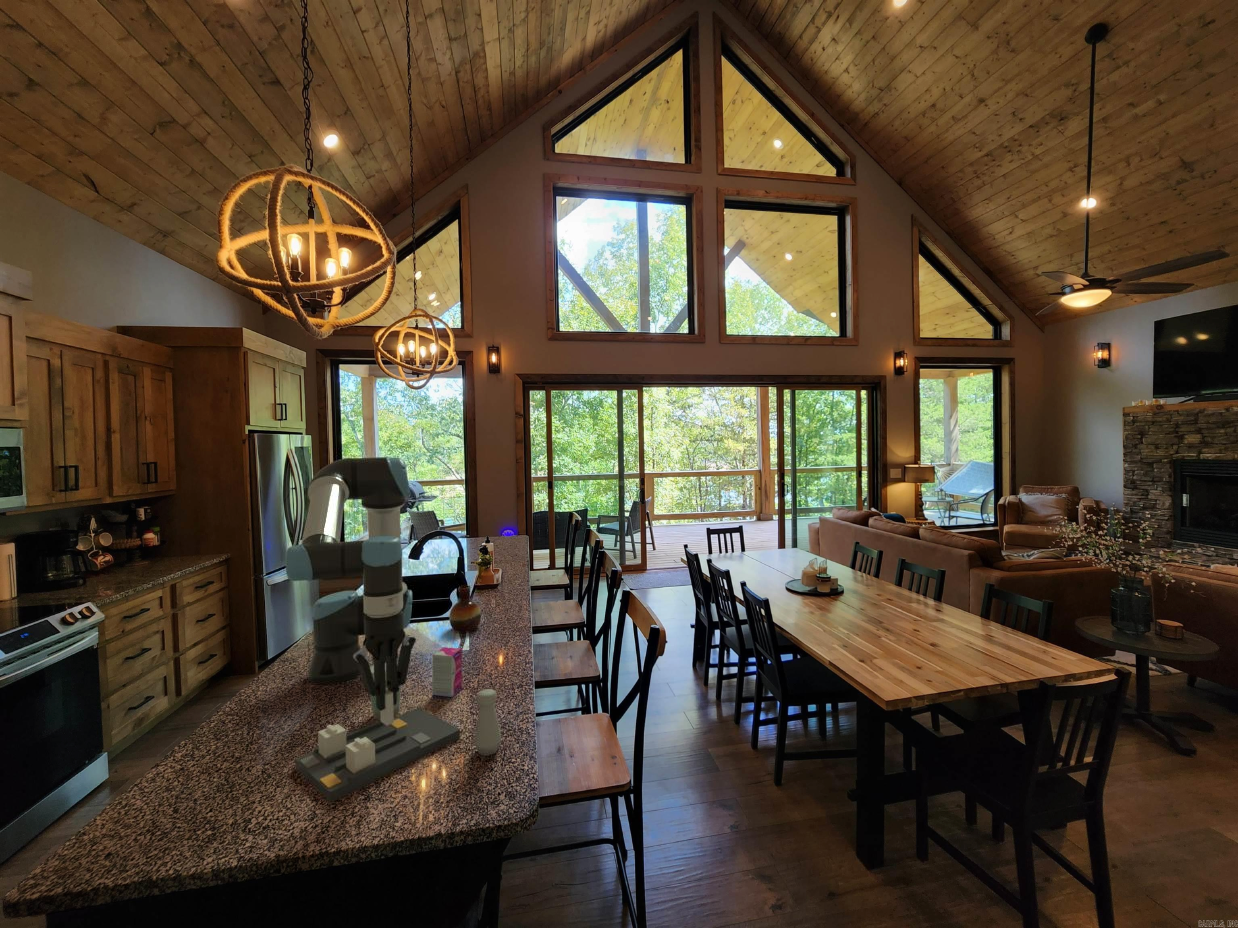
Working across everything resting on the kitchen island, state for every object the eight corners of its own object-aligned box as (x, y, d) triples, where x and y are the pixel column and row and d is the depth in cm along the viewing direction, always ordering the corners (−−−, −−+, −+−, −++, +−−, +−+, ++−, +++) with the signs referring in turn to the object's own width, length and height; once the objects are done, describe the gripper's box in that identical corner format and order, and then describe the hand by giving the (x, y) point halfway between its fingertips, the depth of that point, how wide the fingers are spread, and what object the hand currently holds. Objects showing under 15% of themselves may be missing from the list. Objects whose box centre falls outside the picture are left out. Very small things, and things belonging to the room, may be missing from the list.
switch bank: (295, 768, 111) (295, 755, 111) (420, 714, 132) (419, 703, 132) (330, 802, 100) (330, 787, 100) (460, 738, 122) (459, 725, 121)
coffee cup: (368, 726, 127) (366, 676, 127) (366, 710, 135) (365, 664, 134) (406, 717, 131) (405, 669, 131) (403, 702, 139) (401, 657, 138)
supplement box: (452, 698, 141) (451, 656, 140) (432, 697, 142) (430, 654, 141) (463, 689, 146) (462, 647, 146) (443, 687, 147) (442, 646, 147)
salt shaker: (476, 743, 119) (475, 686, 119) (503, 741, 120) (501, 684, 119) (472, 758, 113) (470, 698, 113) (499, 757, 114) (498, 697, 113)
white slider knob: (318, 752, 113) (317, 728, 113) (338, 744, 116) (337, 720, 116) (326, 759, 110) (325, 734, 110) (346, 750, 113) (345, 726, 113)
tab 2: (346, 767, 108) (345, 741, 107) (366, 758, 111) (365, 733, 110) (355, 774, 105) (354, 748, 105) (375, 765, 108) (374, 739, 108)
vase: (476, 633, 189) (475, 590, 189) (445, 634, 189) (444, 591, 189) (484, 623, 200) (483, 582, 200) (455, 623, 201) (454, 583, 200)
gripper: (360, 624, 104) (364, 742, 105) (422, 607, 114) (425, 715, 115) (343, 616, 108) (347, 728, 110) (404, 600, 119) (407, 703, 120)
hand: (387, 721), depth 113 cm, fingers closed
